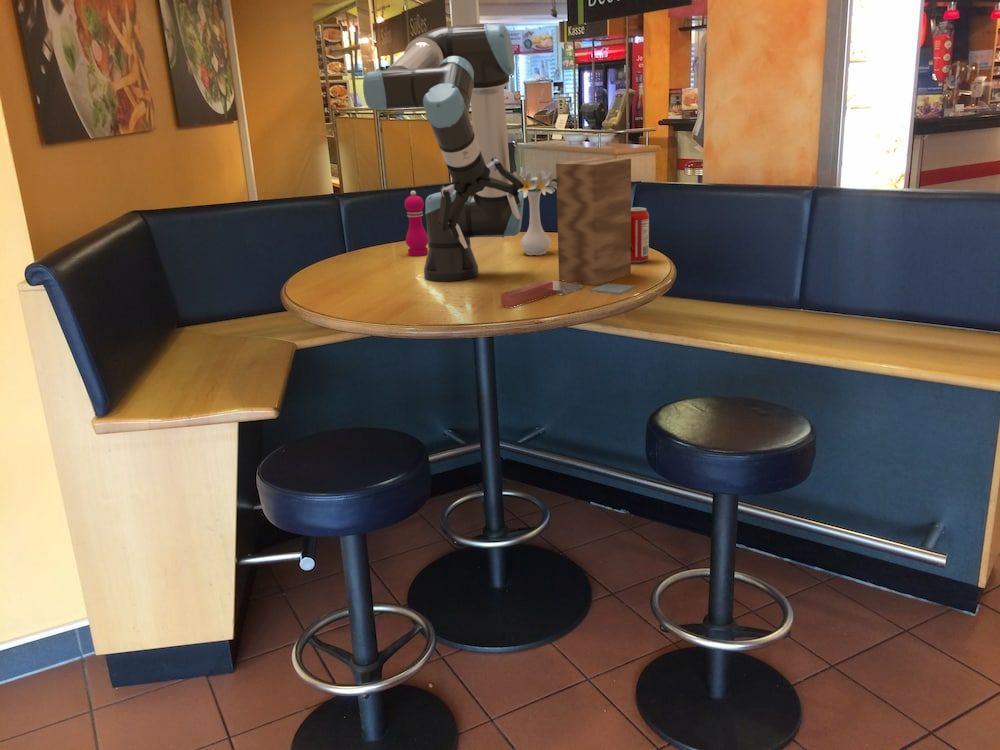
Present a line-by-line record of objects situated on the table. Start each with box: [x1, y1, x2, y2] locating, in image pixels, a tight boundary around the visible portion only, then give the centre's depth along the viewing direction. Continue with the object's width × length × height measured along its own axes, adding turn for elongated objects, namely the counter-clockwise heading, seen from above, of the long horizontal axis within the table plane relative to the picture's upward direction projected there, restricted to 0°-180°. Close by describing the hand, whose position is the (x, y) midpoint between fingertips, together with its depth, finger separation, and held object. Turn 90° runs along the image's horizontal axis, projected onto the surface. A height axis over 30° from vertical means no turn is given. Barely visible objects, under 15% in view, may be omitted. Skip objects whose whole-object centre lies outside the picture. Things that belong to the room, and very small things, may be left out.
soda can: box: [631, 206, 650, 264], centre depth 235 cm, size 8×8×15 cm
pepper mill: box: [404, 190, 429, 257], centre depth 261 cm, size 7×7×20 cm
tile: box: [590, 282, 636, 296], centre depth 206 cm, size 8×8×1 cm
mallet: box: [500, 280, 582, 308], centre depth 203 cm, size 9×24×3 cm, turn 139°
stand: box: [555, 157, 632, 286], centre depth 216 cm, size 12×16×30 cm
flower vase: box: [512, 170, 557, 256], centre depth 252 cm, size 13×18×25 cm
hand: (490, 230), depth 186 cm, fingers open, 13 cm apart
